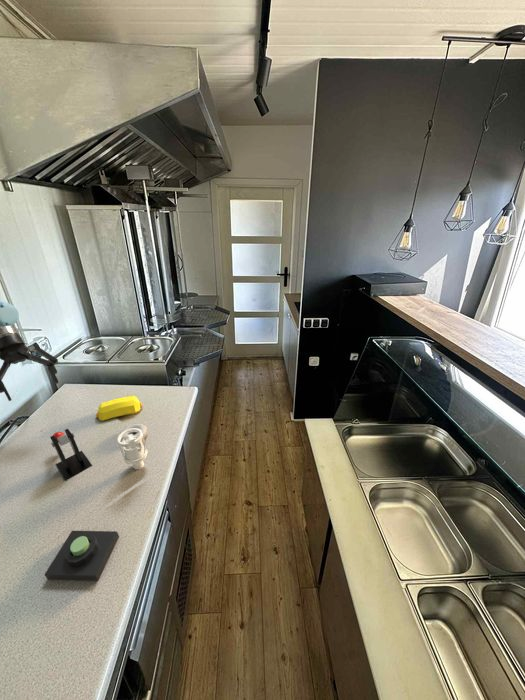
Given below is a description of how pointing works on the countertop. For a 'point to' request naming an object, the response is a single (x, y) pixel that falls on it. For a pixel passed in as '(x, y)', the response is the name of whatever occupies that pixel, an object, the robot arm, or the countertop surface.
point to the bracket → (70, 458)
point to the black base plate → (83, 557)
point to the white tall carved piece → (133, 448)
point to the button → (79, 546)
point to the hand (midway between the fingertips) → (34, 390)
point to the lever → (61, 438)
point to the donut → (139, 426)
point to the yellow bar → (118, 407)
